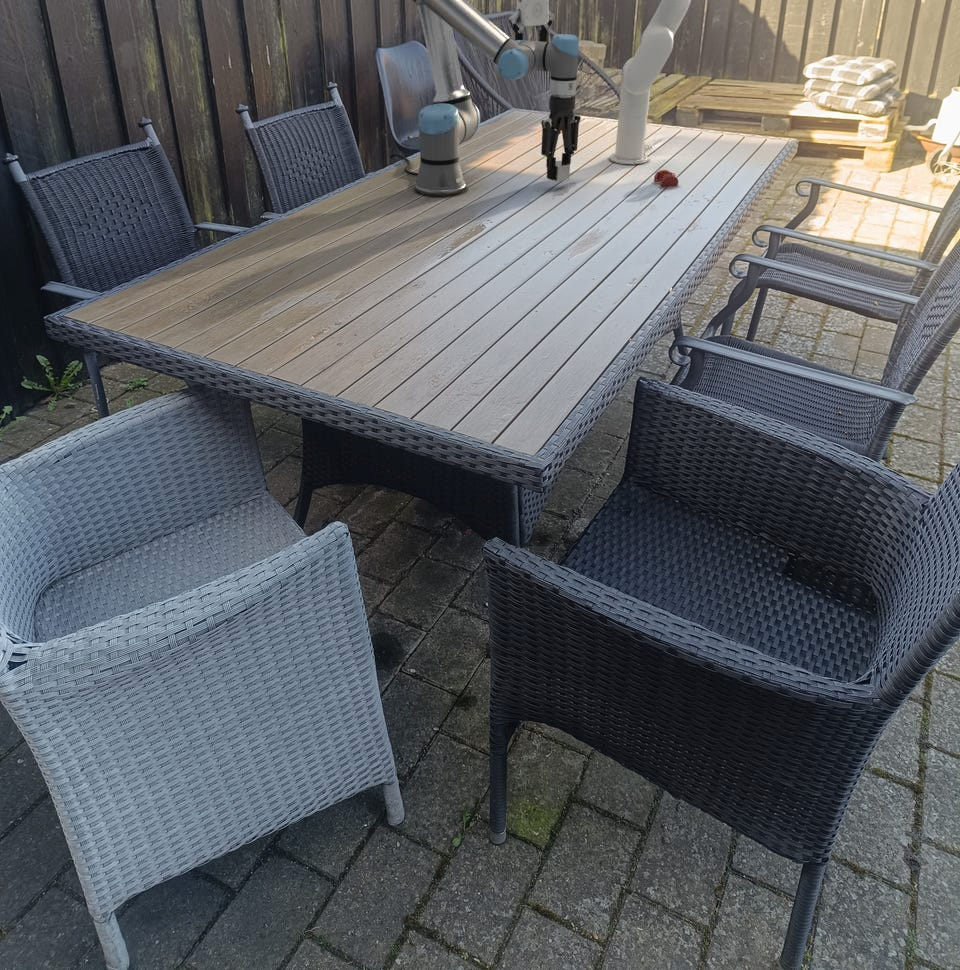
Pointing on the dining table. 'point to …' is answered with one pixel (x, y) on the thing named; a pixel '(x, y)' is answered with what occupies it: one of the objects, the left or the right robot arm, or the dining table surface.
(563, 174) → the grey square block
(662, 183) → the red lumpy rounded piece
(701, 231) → the dining table surface
